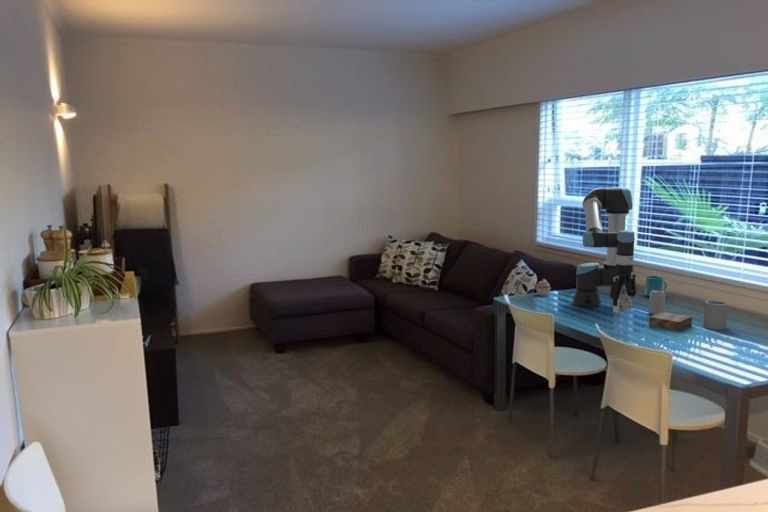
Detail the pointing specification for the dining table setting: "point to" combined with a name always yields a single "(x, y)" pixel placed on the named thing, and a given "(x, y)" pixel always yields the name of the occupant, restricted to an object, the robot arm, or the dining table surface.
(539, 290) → the cupcake
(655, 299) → the can
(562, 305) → the dining table surface
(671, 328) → the walnut block
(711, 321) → the cup
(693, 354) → the dining table surface
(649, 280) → the cup
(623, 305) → the game die
